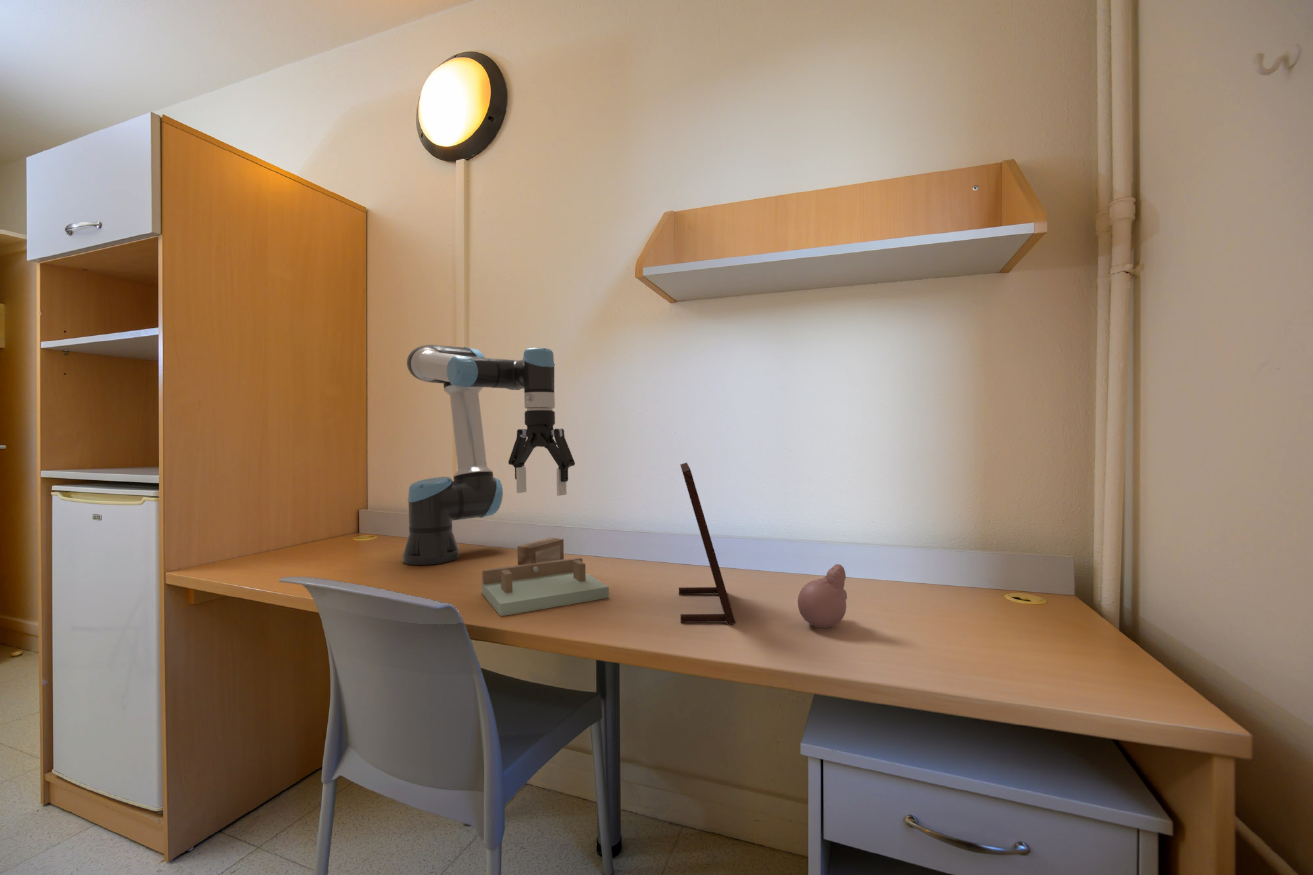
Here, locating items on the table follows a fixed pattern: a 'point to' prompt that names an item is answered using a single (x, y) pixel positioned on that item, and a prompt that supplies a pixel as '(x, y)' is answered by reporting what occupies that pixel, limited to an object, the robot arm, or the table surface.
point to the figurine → (824, 599)
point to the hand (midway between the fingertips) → (541, 493)
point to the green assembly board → (540, 586)
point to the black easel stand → (712, 560)
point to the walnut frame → (541, 551)
